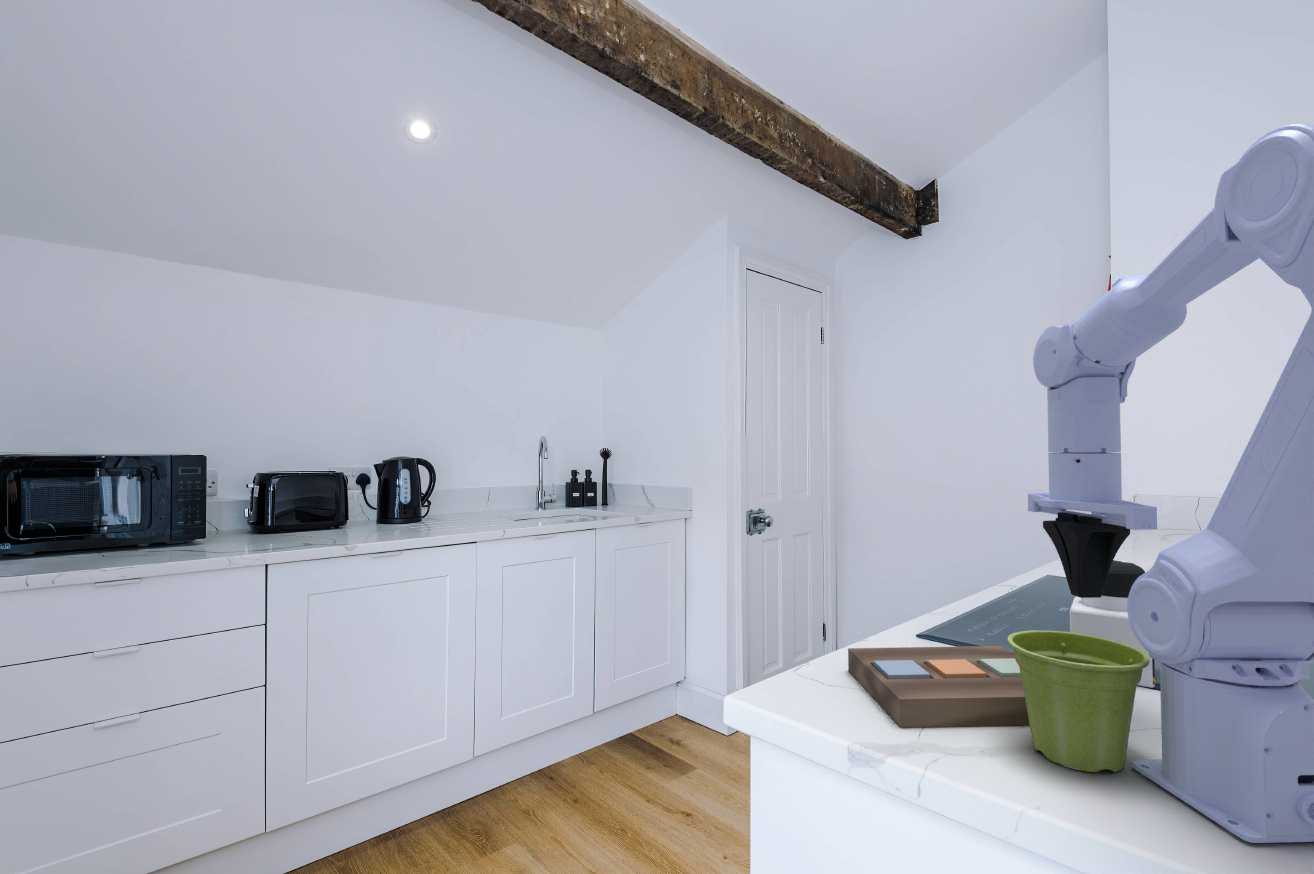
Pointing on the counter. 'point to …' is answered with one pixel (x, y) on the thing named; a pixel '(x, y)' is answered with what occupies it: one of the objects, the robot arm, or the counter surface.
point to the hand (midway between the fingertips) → (1086, 595)
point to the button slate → (901, 669)
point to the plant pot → (1078, 695)
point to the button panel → (942, 688)
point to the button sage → (1002, 667)
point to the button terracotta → (956, 669)
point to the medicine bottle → (1112, 613)
